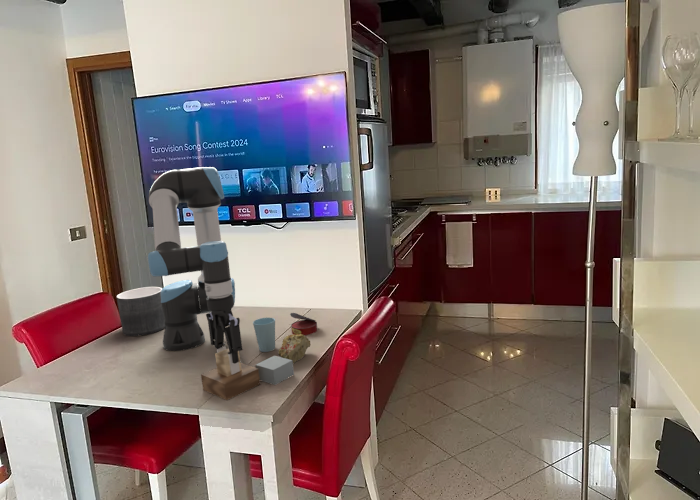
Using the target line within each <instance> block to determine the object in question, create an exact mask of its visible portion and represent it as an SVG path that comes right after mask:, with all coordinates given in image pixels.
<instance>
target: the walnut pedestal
mask: <svg viewBox="0 0 700 500" xmlns="http://www.w3.org/2000/svg"><path fill="white" fill-rule="evenodd" d="M240 363H241V371H239V372H237V373H235V374H233V375H230V376H228V377H227V376H225V375H222V374H219V373H218V372H217V367H216V368H213V369H211V370H208V371H206V372H203V373H201V374H200V377H201V385H202V390H203V391H205V392H207V393H209V394H211V395H214V396H216V397H219V398H221V399H223V400H225V401H228V400H230V399H232V398H235V397H237V396H239V395H241V394H244V393H246V392H247V391H250V390H251V389H252V390H253V388H256V387H258V386H260V385H261V380H260V378H259V370H258V368H256V367H255V366H251V365H249V364H246V363H242V362H240Z"/></svg>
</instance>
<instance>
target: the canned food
mask: <svg viewBox="0 0 700 500" xmlns="http://www.w3.org/2000/svg"><path fill="white" fill-rule="evenodd" d="M289 315H290V317H292V318H294V319H298V320H296V321H294V322H292V323H291V324H290V328H291V333H292V334H291V335H293V334H295V335H297V334H303V335H304V336H308V335H312V334H315V333H317V332H318V322H317V320H316V319H313V318H309V317H307V316H304V315H301V314H298V313H296V312H290V314H289Z"/></svg>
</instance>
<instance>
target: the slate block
mask: <svg viewBox="0 0 700 500" xmlns="http://www.w3.org/2000/svg"><path fill="white" fill-rule="evenodd" d="M254 367H255V368H258V370H259V378H260V382H261V381H262V382H264V383H267V384H270V385H274V386H276V385H278V384H280V383H282V382H284V381H286V380H288V379H289V378H291V377H293V376H295V373H294V364H293V361H292V360H289V359H286V358H282V357H281V356H279V355H278V356H277V355H273V356H271V357H269V358H267V359H265V360H262V361H260V362H258V363H256V364H255V366H254ZM292 375H293V376H292ZM290 376H291V377H290ZM288 377H289V378H288ZM283 380H284V381H283ZM281 381H282V382H281Z"/></svg>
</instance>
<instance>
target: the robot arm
mask: <svg viewBox="0 0 700 500" xmlns="http://www.w3.org/2000/svg"><path fill="white" fill-rule="evenodd" d="M150 187H151V188H149V189H150V190H149V192H148V203H149V206H150V207H151V208H152V218H153V234H154V235H153V236H154V249H155V250H153V251H150V252H148V254H147V259H148V260H147V262H148V268H149V272H150V275H151V276H153V277H168V276H173V275H181V274H185V273H195V272H200V273H201V274H200V275H199V276H198V277H197V283H196V282H195V283H193V281H192V280H191V279H186V280H185V279H184V280H179V281H175V282H172V283H170V284H168V285H165V286H164V287H163V288H162V290H161V303H162V307H163V314H164V321H165V328H164V331H163V337H162V338H163V339H162V346H163V349H164V350H166V351H172V352H175V351H176V352H178V351H180V352H181V351H187V350H190V349H193V348H196V347H199V346H200V345H202V344H203V343H205V341H206V338H205V332H204V331H203V329H202V327H201V325H200V323H199V321H198V316H197V315H203V314H205V316H206V319H207V324H208V331H209V340H210V345H211V346H214V349H216V350H215V351H216V353H218V352H221V351H223V350H226V349H227V348H226V345H227V347H228V348H229V351H230V352H228V357H229V364H230V372H231V374H232V375H233V374H235V373H237V372H239V371H240V369H239V358H238V351H239V352H240V351H243V342H242V335H241V330H240V329H241V328H240V322H241V320H240V318H239V317H235V316H234V314H233V312H232V309H233V307H234V306H235V301H236V288H235V287H236V285H235V284H236V283H235V279H234V278H233V277H231V271H230V270H231V269H230V263H229V250H228V247H227V243H226V242H225V241H223V240H222V238H221V227H220V220H219V213H218V212H219V211H218V208H219V207H220V206H221V205H222V202H221V200H223V199H225V193H224V189H223V186H222V182H221V178H220V174H219V170H217V169H216V168H215V167H214V166H212V167H211V166H209V167H207V166H205V167H204V166H201V167H193V168H191V167H190V168H183V169H182V168H181V169H172V170H169V171H166V172H164V173H162V174H161V175H160V176H159V177H157V179H155V181H154V182H153V183H152V184H151V186H150ZM185 203H186V205H187V208H188V209H189V210H190V211H192V216H193V223H194V229H195V237H196V246H189V247H188V246H187V247H182V241H181V236H180V235H181V234H180V226H179V216H178V208H177V207H178V206H179V204H185ZM225 340H226V343H227V344H226V343H225Z"/></svg>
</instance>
